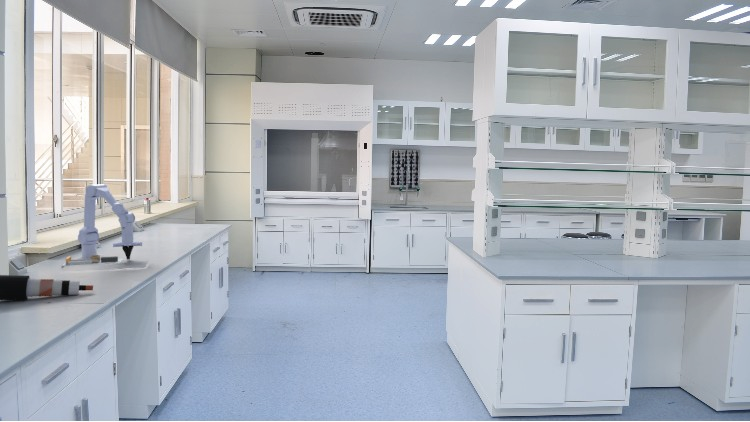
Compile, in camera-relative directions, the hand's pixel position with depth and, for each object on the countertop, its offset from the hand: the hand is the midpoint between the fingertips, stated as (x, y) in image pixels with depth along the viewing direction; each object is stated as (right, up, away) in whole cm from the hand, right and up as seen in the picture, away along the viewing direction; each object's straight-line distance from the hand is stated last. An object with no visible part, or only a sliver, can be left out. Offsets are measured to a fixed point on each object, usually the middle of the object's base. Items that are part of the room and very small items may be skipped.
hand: (128, 259), depth 290 cm
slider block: (-16, -1, -5) cm, 17 cm away
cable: (0, -10, -72) cm, 73 cm away
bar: (-9, -1, -3) cm, 10 cm away
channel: (-17, -2, -5) cm, 18 cm away
